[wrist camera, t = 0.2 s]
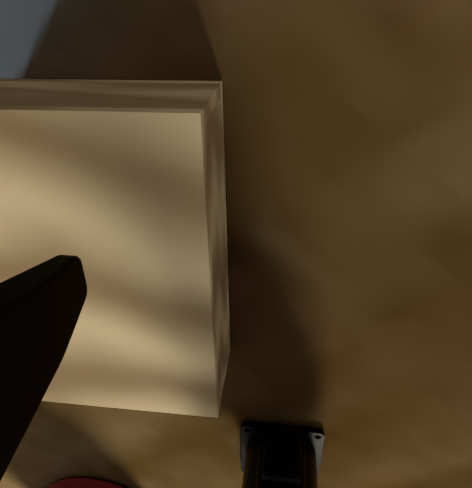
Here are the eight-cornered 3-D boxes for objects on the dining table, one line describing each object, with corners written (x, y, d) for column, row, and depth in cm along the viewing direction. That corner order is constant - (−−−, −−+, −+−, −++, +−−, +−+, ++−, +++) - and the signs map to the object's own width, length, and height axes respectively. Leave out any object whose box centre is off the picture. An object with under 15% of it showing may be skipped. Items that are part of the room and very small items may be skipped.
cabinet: (230, 348, 31) (218, 417, 26) (68, 336, 32) (28, 399, 27) (222, 80, 21) (200, 113, 16) (-10, 78, 22) (-92, 107, 18)
